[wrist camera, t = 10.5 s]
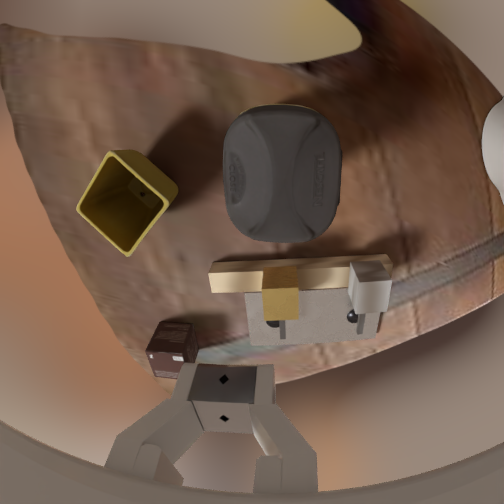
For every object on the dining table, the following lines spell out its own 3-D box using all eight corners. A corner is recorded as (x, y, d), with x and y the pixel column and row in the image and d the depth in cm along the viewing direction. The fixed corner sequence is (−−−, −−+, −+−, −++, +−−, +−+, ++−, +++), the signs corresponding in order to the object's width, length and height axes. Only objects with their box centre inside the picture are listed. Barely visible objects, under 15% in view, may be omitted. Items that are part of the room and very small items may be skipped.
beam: (386, 249, 38) (407, 279, 31) (377, 312, 42) (392, 347, 35) (212, 257, 41) (198, 289, 33) (223, 320, 45) (213, 356, 38)
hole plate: (382, 281, 40) (384, 286, 39) (373, 334, 44) (375, 338, 43) (245, 289, 42) (244, 293, 41) (251, 341, 47) (250, 346, 46)
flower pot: (155, 229, 39) (127, 259, 31) (110, 189, 37) (74, 210, 29) (194, 183, 36) (171, 203, 28) (145, 139, 34) (109, 148, 26)
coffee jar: (245, 109, 32) (212, 100, 15) (313, 109, 31) (352, 101, 15) (247, 187, 36) (220, 254, 19) (312, 188, 35) (342, 256, 19)
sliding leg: (296, 265, 36) (298, 287, 32) (297, 332, 41) (298, 357, 36) (263, 267, 37) (261, 289, 32) (268, 333, 41) (267, 358, 37)
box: (166, 346, 49) (153, 376, 43) (159, 320, 47) (143, 350, 40) (199, 349, 49) (189, 381, 42) (194, 322, 46) (182, 354, 39)
